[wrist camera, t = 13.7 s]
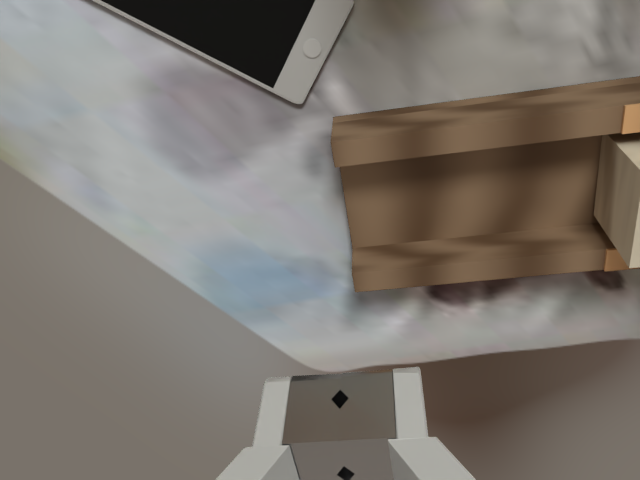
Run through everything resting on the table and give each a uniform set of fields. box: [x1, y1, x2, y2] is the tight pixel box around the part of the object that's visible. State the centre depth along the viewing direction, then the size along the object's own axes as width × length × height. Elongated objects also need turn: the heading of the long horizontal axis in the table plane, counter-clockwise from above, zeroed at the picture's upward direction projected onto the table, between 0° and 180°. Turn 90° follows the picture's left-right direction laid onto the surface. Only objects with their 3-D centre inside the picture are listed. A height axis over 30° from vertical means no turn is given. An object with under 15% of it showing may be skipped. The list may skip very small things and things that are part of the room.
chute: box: [331, 76, 640, 292], centre depth 36 cm, size 22×11×4 cm, turn 99°
